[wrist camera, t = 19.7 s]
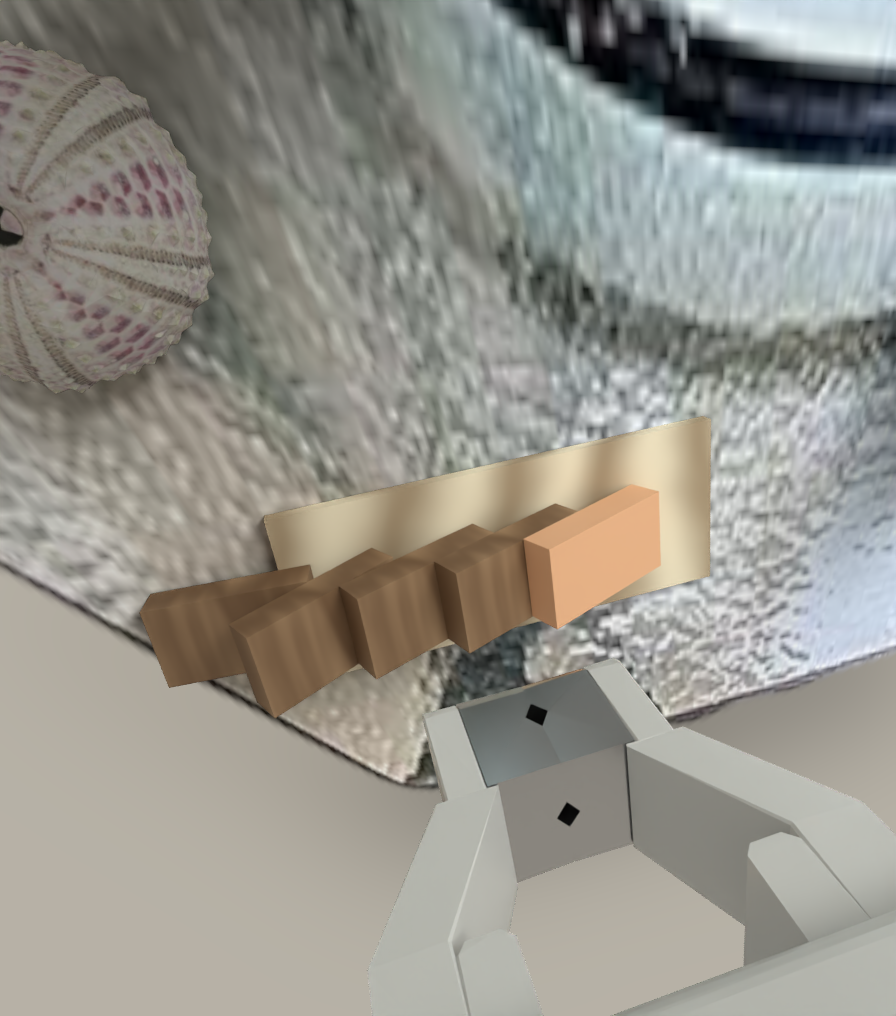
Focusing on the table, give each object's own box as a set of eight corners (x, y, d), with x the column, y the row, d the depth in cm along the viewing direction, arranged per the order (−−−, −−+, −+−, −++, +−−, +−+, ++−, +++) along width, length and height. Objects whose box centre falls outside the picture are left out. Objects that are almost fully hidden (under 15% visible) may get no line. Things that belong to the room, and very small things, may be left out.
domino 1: (307, 581, 36) (139, 612, 35) (327, 657, 38) (169, 687, 37) (309, 564, 38) (150, 594, 37) (329, 637, 40) (178, 666, 39)
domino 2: (392, 556, 37) (246, 638, 32) (409, 630, 39) (275, 718, 34) (371, 547, 38) (228, 624, 33) (389, 619, 40) (257, 701, 35)
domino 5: (658, 491, 39) (549, 549, 35) (660, 565, 41) (557, 629, 37) (631, 484, 41) (523, 539, 36) (634, 555, 43) (532, 616, 38)
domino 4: (579, 511, 38) (456, 573, 34) (585, 585, 40) (469, 653, 36) (555, 503, 40) (434, 561, 36) (562, 575, 42) (448, 638, 38)
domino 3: (494, 532, 38) (357, 599, 33) (504, 607, 40) (376, 679, 35) (472, 523, 39) (338, 585, 35) (483, 595, 41) (358, 663, 37)
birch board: (703, 415, 41) (710, 419, 40) (703, 570, 45) (709, 575, 45) (264, 515, 37) (263, 521, 36) (310, 674, 41) (310, 682, 41)
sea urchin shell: (-171, 251, 29) (-327, 254, 21) (-7, -28, 27) (-117, -130, 19) (120, 430, 34) (75, 481, 27) (276, 209, 32) (273, 199, 25)
